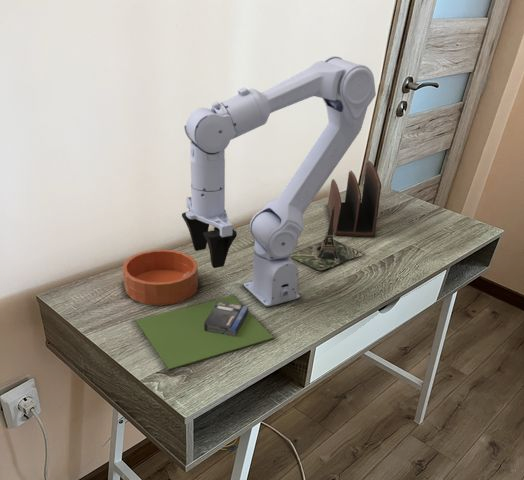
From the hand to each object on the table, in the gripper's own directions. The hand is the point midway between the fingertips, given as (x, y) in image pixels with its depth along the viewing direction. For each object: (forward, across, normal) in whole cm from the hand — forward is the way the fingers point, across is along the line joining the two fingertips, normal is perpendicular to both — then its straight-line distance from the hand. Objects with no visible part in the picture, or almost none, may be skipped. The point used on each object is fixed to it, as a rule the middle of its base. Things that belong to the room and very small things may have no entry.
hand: (208, 257), depth 99 cm
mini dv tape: (+8, +6, -3) cm, 11 cm away
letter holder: (+10, -20, +51) cm, 55 cm away
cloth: (+9, +9, -5) cm, 14 cm away
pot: (+9, -9, -6) cm, 15 cm away
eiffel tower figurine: (+10, -6, +33) cm, 35 cm away
